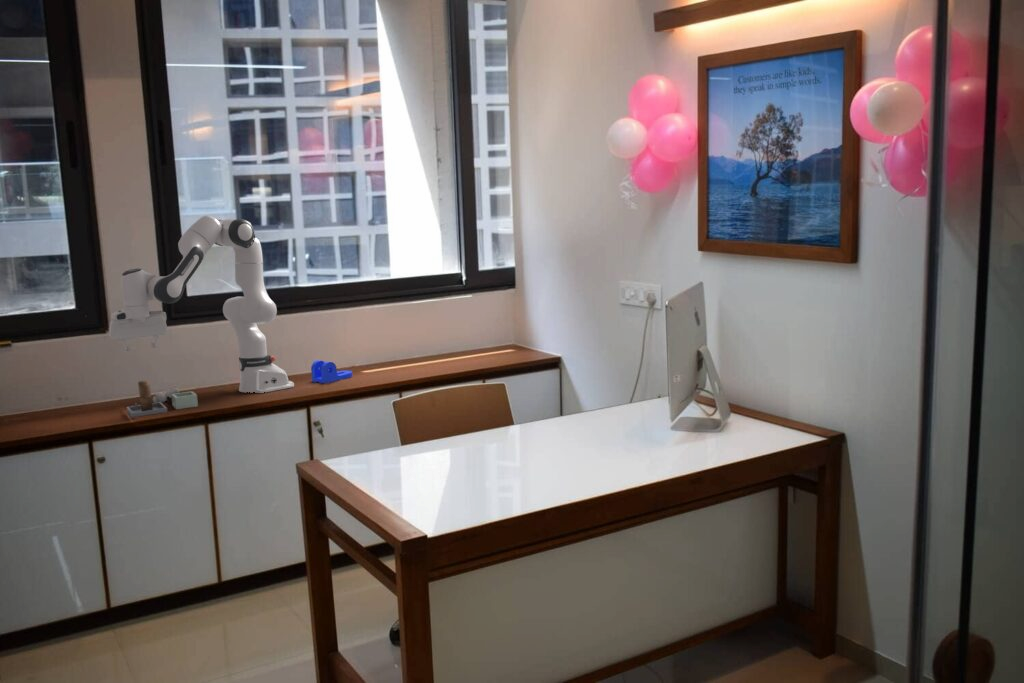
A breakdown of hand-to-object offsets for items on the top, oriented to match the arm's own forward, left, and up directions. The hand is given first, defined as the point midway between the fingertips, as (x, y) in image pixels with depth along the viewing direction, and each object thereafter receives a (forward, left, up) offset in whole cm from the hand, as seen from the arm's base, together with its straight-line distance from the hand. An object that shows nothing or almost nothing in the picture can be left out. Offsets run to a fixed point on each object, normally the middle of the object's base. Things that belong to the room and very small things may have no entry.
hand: (140, 349), depth 349 cm
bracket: (-79, -14, -25) cm, 85 cm away
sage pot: (-14, 0, -25) cm, 29 cm away
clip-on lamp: (-7, -11, -25) cm, 29 cm away
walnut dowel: (0, 0, -24) cm, 24 cm away
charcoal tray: (0, 0, -25) cm, 25 cm away
